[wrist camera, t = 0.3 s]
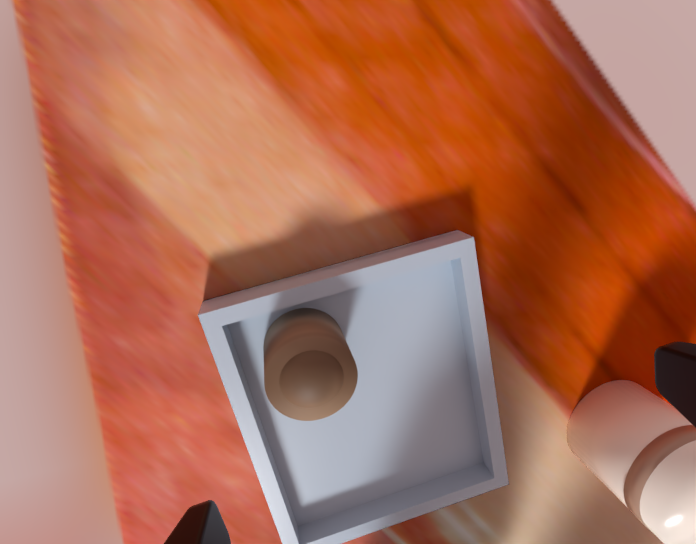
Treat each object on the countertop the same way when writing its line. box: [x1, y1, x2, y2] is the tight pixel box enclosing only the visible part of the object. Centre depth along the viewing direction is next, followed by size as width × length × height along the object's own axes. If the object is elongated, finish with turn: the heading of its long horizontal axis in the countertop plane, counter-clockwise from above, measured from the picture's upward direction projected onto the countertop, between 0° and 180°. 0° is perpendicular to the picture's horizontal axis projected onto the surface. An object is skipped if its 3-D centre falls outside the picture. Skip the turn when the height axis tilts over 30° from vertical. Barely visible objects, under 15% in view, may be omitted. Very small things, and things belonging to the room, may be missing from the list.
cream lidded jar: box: [567, 380, 696, 544], centre depth 25 cm, size 6×6×7 cm
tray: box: [198, 230, 509, 544], centre depth 24 cm, size 15×13×2 cm
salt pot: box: [263, 308, 358, 421], centre depth 20 cm, size 4×4×4 cm
